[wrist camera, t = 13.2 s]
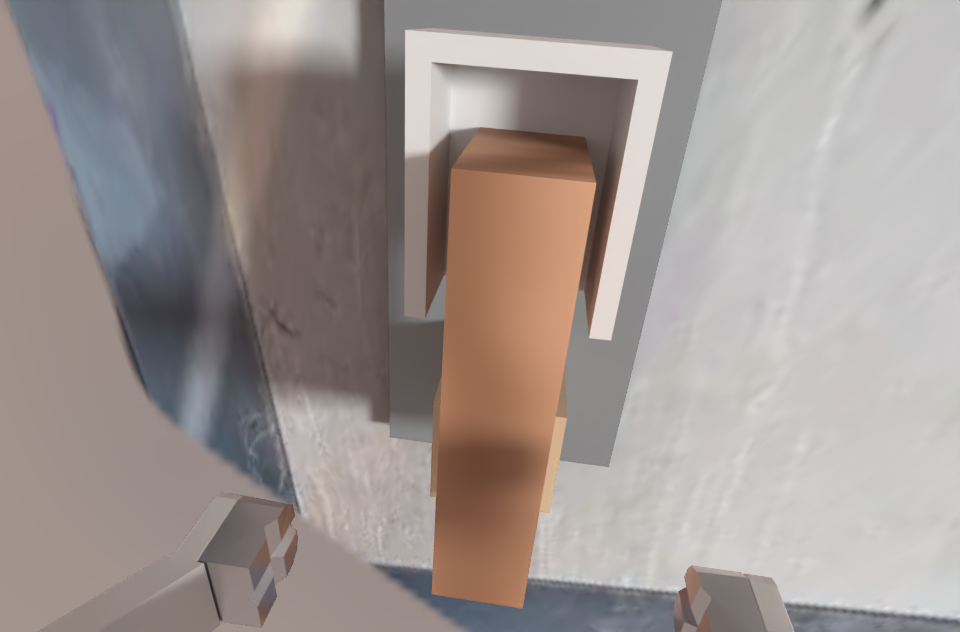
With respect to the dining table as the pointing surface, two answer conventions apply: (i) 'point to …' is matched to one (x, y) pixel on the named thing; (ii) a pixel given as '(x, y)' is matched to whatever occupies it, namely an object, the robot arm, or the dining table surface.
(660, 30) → the rail stand
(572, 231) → the rail
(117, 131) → the dining table surface
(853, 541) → the dining table surface
